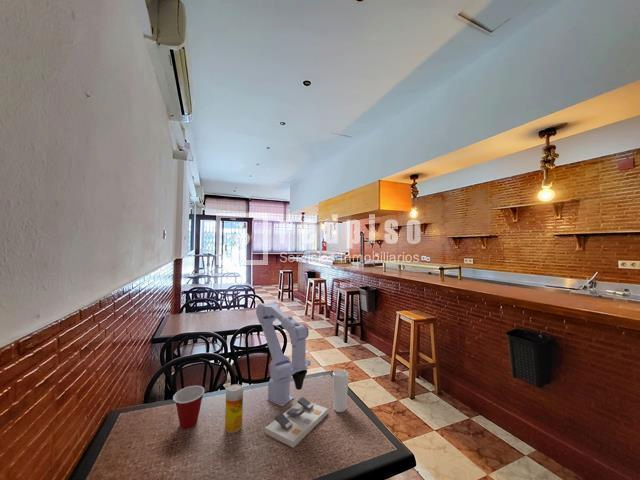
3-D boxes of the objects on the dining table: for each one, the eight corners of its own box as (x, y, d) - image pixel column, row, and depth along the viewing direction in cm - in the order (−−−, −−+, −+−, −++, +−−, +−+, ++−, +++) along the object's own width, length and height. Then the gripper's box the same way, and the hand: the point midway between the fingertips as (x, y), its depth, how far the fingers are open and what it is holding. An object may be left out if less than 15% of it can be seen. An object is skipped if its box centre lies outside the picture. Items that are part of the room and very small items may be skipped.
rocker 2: (287, 414, 106) (286, 411, 106) (292, 410, 109) (291, 407, 109) (299, 416, 103) (298, 413, 103) (304, 412, 106) (303, 409, 106)
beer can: (236, 435, 97) (238, 392, 98) (221, 432, 99) (222, 390, 99) (244, 424, 103) (246, 384, 104) (230, 422, 104) (231, 382, 105)
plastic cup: (165, 428, 100) (166, 395, 101) (191, 413, 110) (192, 383, 110) (184, 438, 95) (185, 403, 96) (209, 421, 105) (210, 389, 105)
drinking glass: (347, 405, 117) (348, 370, 118) (347, 414, 111) (348, 377, 111) (332, 403, 118) (333, 368, 119) (330, 412, 112) (331, 375, 112)
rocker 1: (274, 419, 100) (275, 416, 100) (280, 414, 103) (281, 412, 103) (286, 431, 97) (287, 428, 97) (291, 426, 100) (292, 423, 100)
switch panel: (264, 433, 99) (265, 426, 99) (302, 403, 118) (302, 397, 118) (293, 447, 92) (293, 440, 92) (327, 413, 111) (327, 407, 111)
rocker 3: (297, 402, 112) (298, 400, 112) (302, 399, 115) (302, 396, 115) (308, 411, 109) (309, 408, 109) (313, 407, 112) (314, 404, 111)
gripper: (295, 362, 105) (295, 399, 104) (316, 351, 117) (316, 384, 116) (281, 359, 109) (281, 394, 108) (303, 348, 121) (303, 380, 120)
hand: (298, 388), depth 112 cm, fingers closed
